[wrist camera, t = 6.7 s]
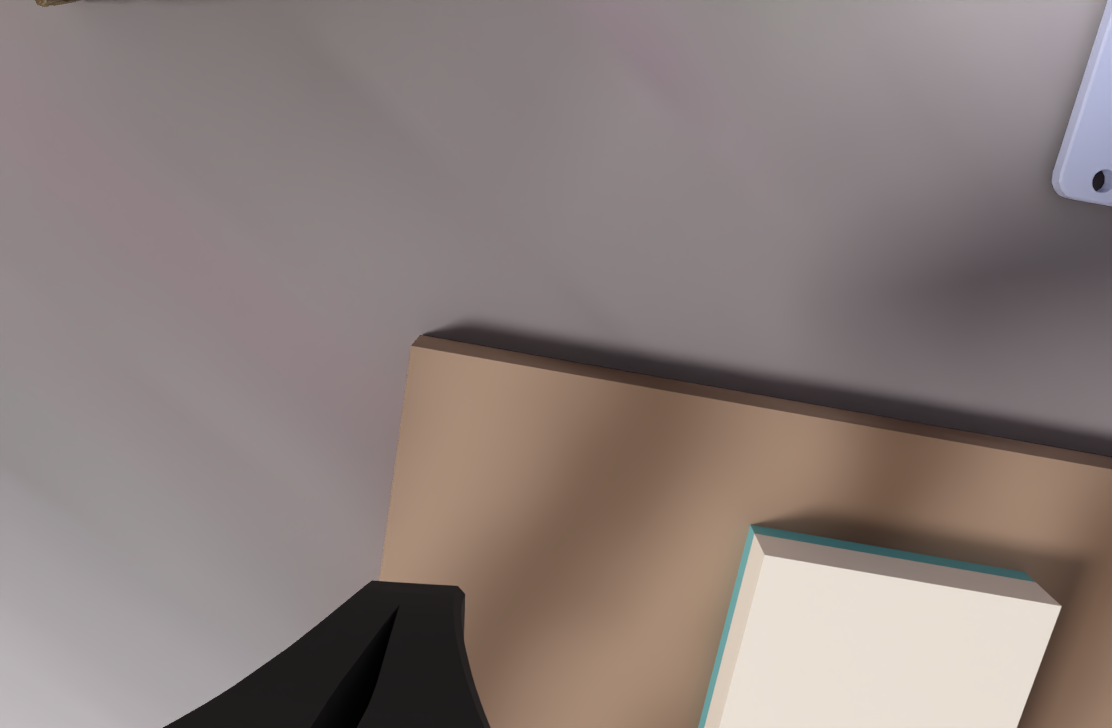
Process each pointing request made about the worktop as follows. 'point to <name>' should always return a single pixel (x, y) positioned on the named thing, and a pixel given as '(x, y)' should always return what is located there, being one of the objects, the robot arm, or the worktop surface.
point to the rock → (53, 2)
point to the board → (702, 526)
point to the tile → (874, 639)
